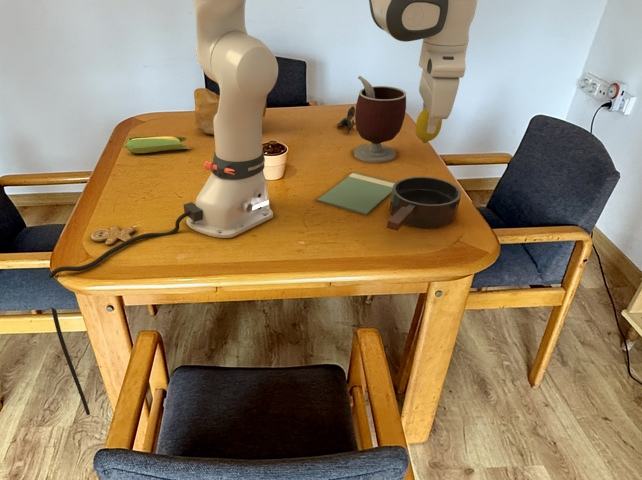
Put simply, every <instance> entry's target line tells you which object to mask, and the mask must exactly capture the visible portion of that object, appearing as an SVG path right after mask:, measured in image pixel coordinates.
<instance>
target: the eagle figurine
mask: <svg viewBox="0 0 642 480" xmlns="http://www.w3.org/2000/svg"><path fill="white" fill-rule="evenodd" d="M355 111H356V107H355V106H351V107H350V108H349V109H348V111H347V114H346V116H344V117H343V118H341V120H339V122H338V123H336V126H337V127H338V126H344V127H345V129H347V132H346V134H347V135H349V133H350V132H351V131H352V130H353V131H354V130H355V128H354V127H355V126H356V124H355V119H354V118H355Z"/></svg>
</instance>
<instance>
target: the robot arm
mask: <svg viewBox="0 0 642 480" xmlns="http://www.w3.org/2000/svg"><path fill="white" fill-rule="evenodd" d="M246 1H247V0H192V2H193V8H194V16H195V17H194V18H195V28H196V40H197V41H196V44H195V57H196V61H197V63H198V65H199V66H200V68H201V70H202V71H203V73H204V74H205V75H206V77H208V78H209V79H210V80H211V81H213V82H215V83H216V84H217V85H218V88H219V95H220V101H219V107H218V112H217V114H216V115H215V117H214V120H213V124H214V135H213V137H214V150H215V152H214V154H213V158H212V162H211V161H209V160H205V161H204V163H203V167H204V168H203V169H204V170H205V171H209V172H211V174H210V175H209V177H208V178H207V180H206V182H205V183H204V185H203V186H202V189H201V190H200V191H199V193H198V194H197V196H196V198H195V203H194V202H193V201H191V202H187V203H184V204H183V213H182V214H181V215H180V216H178V217H177V219H176V220H175V227H174V228H173V229H172V230H170V231H167V232H150V233H149V232H147V233H142V234H138V235H137V236H134V237H132V238H131V239H129V240H127V241H125V242H124V241H122V242H121V243H119V244H117V245H115V246H114V247H112V248H110V249H108V250H107V251H105V252H104V253H102V254H101V255H100V256H99V257H97V258H96V259H94V260H93V261H90V262H89V263H87V264H83V265H79V266H71V265H67V266H66V265H65V266H59V267H56V268H55V269H53V270H51V272H50V273H49V275H48V278H49V279H53V278H54V277H55V276H56V275H57V274H59V273H62V272H82V271H83V272H84V271H86V270H89V269H91V268H93V267H95V266H97V265H98V264H100V263H101V262H103V261H105V259H107V258H108V257H110V255H111V256H112V255H113V254H114V253H116V252H118V251H119V250H122V249H123V248H126V247H127V246H129V245H131V244H134V243H136V242H138V241H140V240H143V239H147V238H160V237H165V236H171V235H174V234H176V233H178V231H179V230H180V223H181V222H182V221H183V219H185V218H187V219H186V225H187V226H188V227H189V229H192V230H193V231H195V232H198V233H199V234H203V235H205V236H210V237H213V238H218V239H219V238H220V239H231V238H234V237H236V236H238V235H241V234H242V233H244V232H246V231H248V230H250V229H252V228H255V227H256V226H259V225H261V224H263V223H265V222H267V221H269V220H271V219H273V218H274V212H273V210H272V209H271V206H270V205H271V204H270V195H269V186H268V182H267V179H266V177H265V173H264V169H265V162H266V158H265V152H264V150H263V118H264V117H263V111H264V106H265V102H266V103H267V97H268V95H269V93H270V92H271V91H272V90H273V89H274V87H275V85H276V83H277V80H278V77H279V64H278V60H277V58H276V56H275V54H274V53H273V51H272V50H271V49H270V48H269V47H268V46H267V45H266V44H265V43H264V42H263V41H262V40H261V39H259V38H257V37H254V36H252V35H250V34H249V33H248V30H247V27H246ZM478 2H479V1H478V0H368V4H369V11H370V15H371V18H372V20H373V22H374V23H375V24H374V25H376V26H377V27H378V28H379V29H380V30H382V31H384V32H386V33H387V34H388V35H389V36H390V37H392V38H393V39H395V40H396V41H398V42H405V43H407V42H413V41H419V40H422V44H421V48H420V55H419V60H418V67H420V68H421V69H422V70H421V71H422V72H421V76H420V80H419V86H418V92H419V95H420V97H421V99H422V101H423V102H422V111H423V110H424V109H426V108H427V110H428V112H429V121H428V123H427V127H426V131H427V133H428V134H433V133H435V131H436V126H437V124H438V122H439V120H440V119H442V120H447V119H449V117H450V115H451V114H452V110H453V107H454V104H455V101H456V97H457V94H458V91H459V86H460V79H461V78H464V76H465V72H466V70H467V69H466V68H467V67H466V55H467V51H468V50H467V49H468V46H469V41H470V40H469V39H470V36H469V33H470V28H471V25H472V23H473V20H474V18H475V15H476V11H477V5H478ZM50 309H51V314H52V319H53V323H54V326H55V330H56V334H57V337H58V340H59V344H60V346H61V350H62V352H63V355H64V357H65V360H66V362H67V366H68V368H69V371H70V373H71V376H72V378H73V381H74V383H75V386H76V389H77V392H78V394H79V396H80V400H81V402H82V405H83V408H84V412H85V414H86V416H90V415H91V412H90V408H89V405H88V402H87V399H86V396H85V393H84V391H83V389H82V385H81V384H80V381H79V378H78V375H77V372H76V369H75V368H74V367H75V366H74V364H73V362H72V359H71V357H70V354H69V351H68V348H67V345H66V342H65V339H64V336H63V332H62V329H61V325H60V321H59V316H58V312H57V309H55V308H53V307H50Z"/></svg>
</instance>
